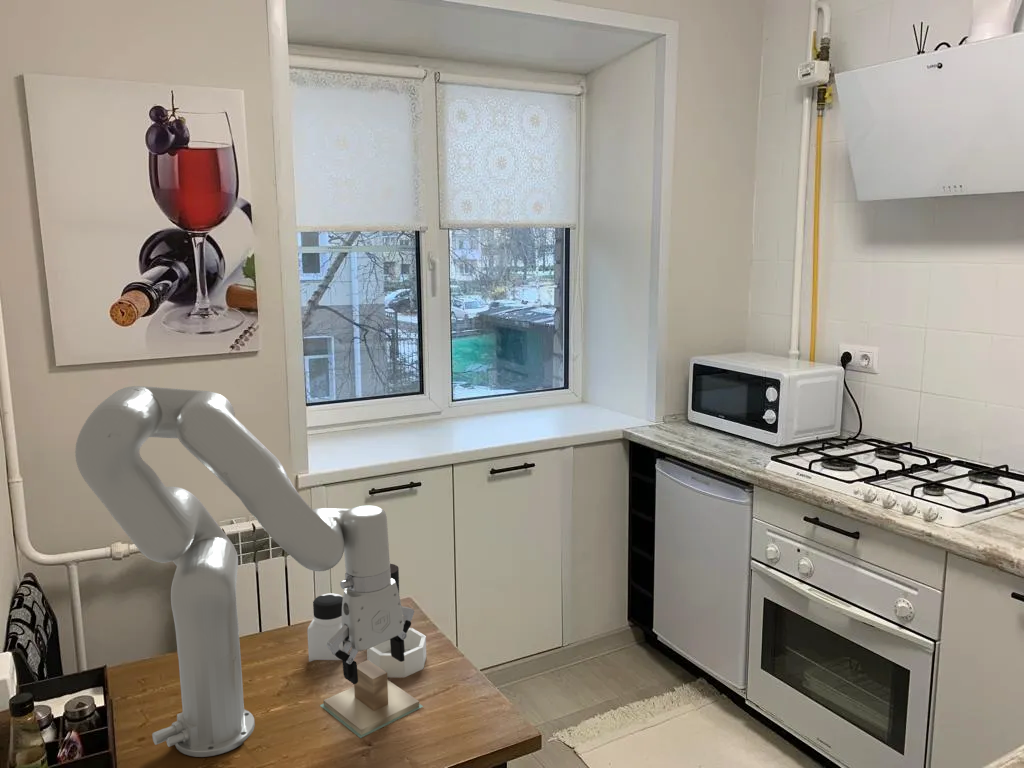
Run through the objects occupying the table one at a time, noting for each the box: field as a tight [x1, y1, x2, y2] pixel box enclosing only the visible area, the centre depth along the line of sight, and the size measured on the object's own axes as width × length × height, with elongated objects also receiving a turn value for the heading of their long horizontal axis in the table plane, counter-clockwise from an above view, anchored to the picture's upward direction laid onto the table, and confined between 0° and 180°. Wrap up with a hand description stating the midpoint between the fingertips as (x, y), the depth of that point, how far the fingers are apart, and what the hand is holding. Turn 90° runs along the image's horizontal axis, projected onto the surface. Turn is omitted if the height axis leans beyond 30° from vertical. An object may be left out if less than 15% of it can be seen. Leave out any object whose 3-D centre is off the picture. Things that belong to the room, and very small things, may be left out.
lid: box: [323, 659, 420, 735], centre depth 137 cm, size 12×12×7 cm
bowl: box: [366, 627, 427, 678], centre depth 152 cm, size 11×11×5 cm
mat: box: [319, 703, 424, 739], centre depth 138 cm, size 13×13×1 cm
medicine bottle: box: [306, 592, 345, 663], centre depth 156 cm, size 7×7×12 cm
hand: (375, 669), depth 137 cm, fingers open, 9 cm apart
